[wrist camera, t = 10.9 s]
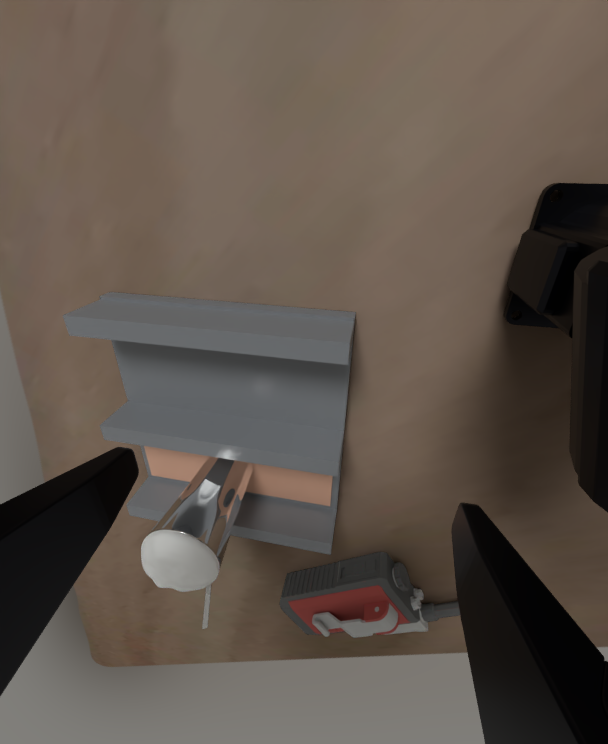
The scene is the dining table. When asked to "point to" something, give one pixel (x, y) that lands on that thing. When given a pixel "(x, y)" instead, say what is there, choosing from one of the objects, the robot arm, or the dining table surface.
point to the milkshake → (197, 529)
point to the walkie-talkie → (359, 599)
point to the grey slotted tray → (232, 404)
